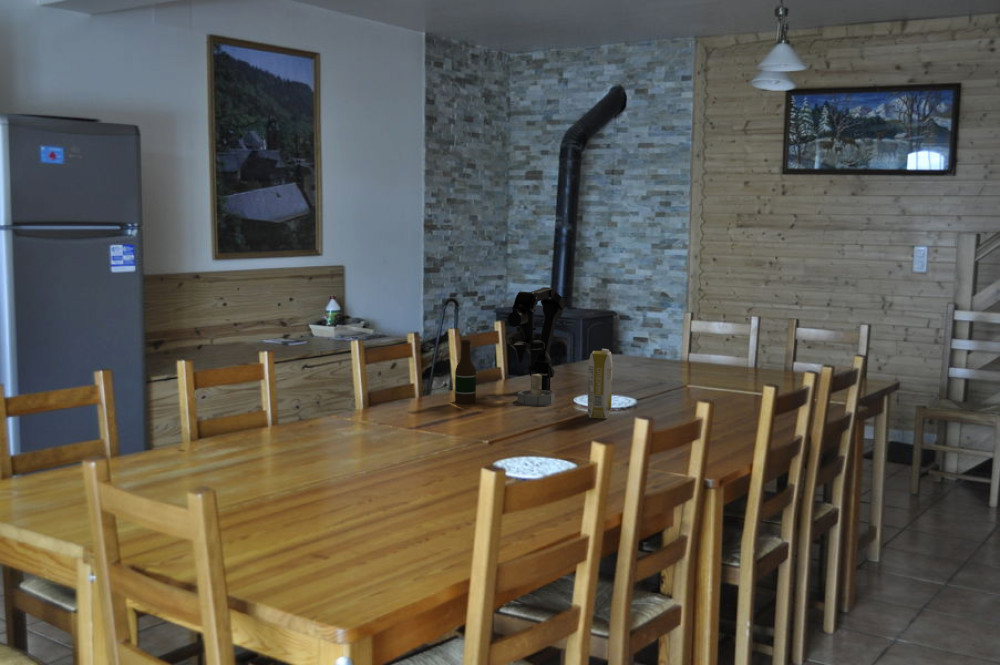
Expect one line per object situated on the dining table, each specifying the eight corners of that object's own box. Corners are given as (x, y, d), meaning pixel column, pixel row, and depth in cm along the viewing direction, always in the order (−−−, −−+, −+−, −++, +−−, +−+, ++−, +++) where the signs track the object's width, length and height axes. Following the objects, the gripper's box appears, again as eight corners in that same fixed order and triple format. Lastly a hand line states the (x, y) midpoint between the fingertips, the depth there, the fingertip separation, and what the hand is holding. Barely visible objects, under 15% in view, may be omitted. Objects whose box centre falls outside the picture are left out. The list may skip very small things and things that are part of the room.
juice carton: (609, 419, 342) (611, 351, 339) (586, 418, 344) (588, 350, 341) (611, 414, 351) (613, 347, 349) (589, 413, 353) (591, 346, 350)
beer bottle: (476, 402, 371) (477, 338, 368) (474, 406, 363) (475, 341, 360) (456, 401, 371) (457, 338, 368) (453, 405, 364) (454, 340, 361)
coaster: (503, 396, 382) (503, 395, 382) (513, 400, 374) (513, 399, 374) (482, 398, 378) (482, 396, 378) (492, 402, 370) (492, 401, 370)
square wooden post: (537, 400, 372) (538, 374, 371) (541, 401, 369) (541, 375, 368) (530, 400, 371) (530, 374, 370) (534, 402, 368) (534, 375, 367)
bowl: (542, 399, 379) (542, 388, 378) (559, 405, 367) (559, 394, 367) (512, 401, 373) (512, 391, 373) (528, 407, 362) (529, 397, 361)
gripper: (496, 322, 383) (496, 362, 385) (519, 328, 367) (519, 369, 369) (521, 321, 388) (521, 360, 390) (545, 326, 372) (545, 367, 374)
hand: (525, 364), depth 381 cm, fingers open, 9 cm apart
